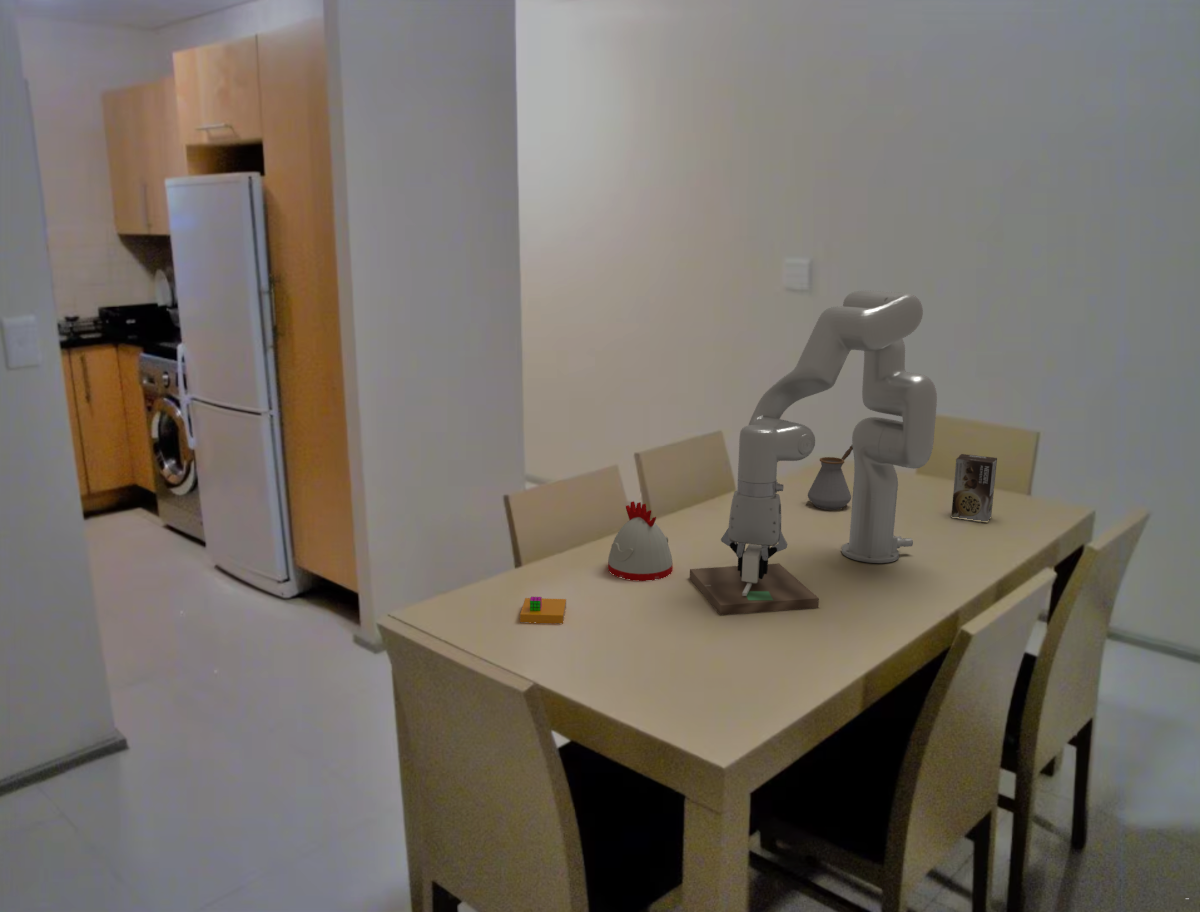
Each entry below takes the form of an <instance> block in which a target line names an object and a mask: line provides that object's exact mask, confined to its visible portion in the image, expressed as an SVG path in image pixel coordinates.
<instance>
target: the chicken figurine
mask: <svg viewBox="0 0 1200 912" xmlns="http://www.w3.org/2000/svg"><path fill="white" fill-rule="evenodd" d="M625 509H626V513H627V516H628V519H629V520H628V521H627V522H626V523H624V524H623V525H622V527H621V528H620V529H619V531H618V532H617V534H616V536H615V537H614V540H613V542H612V544H611V548H610V550H609V554H608V560H607V561H608V562H607V570H608V569H609V570H608V572H609V571H610V572H611V573H612V574H614V575H616V576H618V577H622V578H625V579H624V580H626V579H630V580H629V581H633V580H639V581H638V582H647V581H646V580H652V581H656V580H655V579H658V580H661V578H662V579H664V577H665V578H667V577H669V576H670V575H672V573H673V557H672V552H671V549H670V546H669V545H670V544H669V537H668V536H666V535H665V533H664V532H663V530H662V529H661V527H660V526H659V525H658V524H657V523H656V519H657V516H655V517H654V516H653V517H652V518H651V516H652V510H651V509H650V510H647V504H646V503H642V502H637V504H636V503H635V501H634V500H633V501H630V504H628V505H625ZM610 572H609V573H610ZM671 572H672V573H671ZM611 573H610V574H611ZM612 574H611V575H612ZM669 574H670V575H669ZM614 575H613V576H614ZM668 575H669V576H668ZM616 576H615V577H616ZM666 576H667V577H666ZM618 577H617V578H618ZM622 578H621V579H622Z"/></svg>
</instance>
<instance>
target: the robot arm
mask: <svg viewBox="0 0 1200 912" xmlns="http://www.w3.org/2000/svg"><path fill="white" fill-rule="evenodd" d="M923 310H924V309H923V304H922V302H921V301H920V299H919V298H918V297H917V296H915V295H914V294H912V293H907V292H896V291H894V292H893V291H884V290H883V291H881V290H856V291H853V292H851V293H848V294H847V296H845V297H844V300H843V303H842V306H838V305H837V306H833V307H832V306H830V307H828V308H826V309H825V310H823V312H821V314H820V315H819V317H818V319H817V321H816V322H815V325H814V327H813V329H812V331H811V333H810V335H809V337H808V340H807V343H806V344H805V346H804V348H803V350H802V352H801V355H800V357H799V359H798V361H797V364H796V366H795V367H794V369H793V370H791V371H790V372H789V373H787V374H786V375H784V376H783V377H781V378H780V379H779V380H778V381H777V382H775V384H773V385H772V386H771V387H770V388H769V389H768V390H766V391H765V393H764V394H763V395H762V396H761V398H760V399H759V401H758V403H757V404H756V406H755V408H754V410H753V413H752V415H751V417H750V420H749V422H748V425H745V426H744V427H742V429H740V433H739V441H738V443H739V445H738V466H737V467H738V468H737V485H736V486H737V488H736V490H735V491H734V492H733V495H732V500H731V505H730V512H729V519H728V520H729V521H728V527H727V529H726V531H725V532H724V533H723V535H722V537H721V538H720V542H722V543H723V544H725V546H728V547H729V548H730V549H731V550H732V551H733V552H734V554H735V555H736V557H737V566H738V571H740V577H742V563H743V554H744V552H745V550H746V546H747V545H749V544H753V545H761V546H762V556H761V559H760V561H759V578H760V579H763V576H764V574H767V571H768V564H769V559H770V558H772V556H774V555H775V554H776V553H779V552H781V551H784V550H786V549H787V548H788V543H787V541H786V538H785V536H784V535H783V533H782V504H781V497H780V494H779V493H778V492H783V491H784V484H783V483H782V484H780V483H779V482H778V479H777V477H778V476H777V474H778V462H785V461H786V462H797V461H802V460H804V459H806V458H808V457H809V456H810V455H811V453H813V451H814V448H815V446H816V436H815V434H814V432H813V431H812V429H811V428H809V426H806V425H805V424H802V423H799V422H795V421H789V420H786V419H781V417H782V416H783V414H784V413H785V411H787V409H788V408H790V406H792V405H793V404H794V403H797V402H799V401H800V400H803V399H805V398H808V397H811V396H814V395H817V394H819V393H822V392H825V391H828V390H830V389H831V388H832V387H834V386H835V384H836V382H837V380H838V377H839V376H840V372H841V371H842V368H843V366H844V365H845V362H846V360H847V357H848V356H849V354H850V352H851V351H852V350H853V351H861V352H863V371H862V373H863V374H862V386H861V387H862V390H861V395H862V403H863V405H864V406H865V408H866V409H868V410H870V411H872V412H877V413H879V414H885V415H892V416H898V417H902V421H901V420H895V419H891V418H885V417H876V416H872V417H871V416H869V417H866V418H864V419H861V420H860V421H858V423H857V424H856V425H855V427H854V428H853V431H852V437H851V443H852V444H851V446H853V450H852V452H853V463H854V469H853V471H854V472H853V473H854V474H853V486H852V497H851V511H850V512H851V514H850V524H849V525H850V526H849V527H850V528H849V541H848V542H846V543H845V544H842V546H841V553H842V555H844V556H845V557H847V558H848V559H851V560H853V561H858V562H861V563H868V564H869V563H870V564H887V563H892V562H895V561H897V560H898V559H899V558H900V551H899V550H898V549H900V548H901V547H907V548H908V547H913V545H914V541H913V538H912V537H908V538H907V537H905V538H902V536H900V535H899V536H898V535H894V534H895V523H896V519H895V518H896V509H897V499H898V498H897V497H898V489H899V481H898V480H899V479H898V474H897V472H896V468H895V466H898V467H902V468H907V469H913V470H914V469H920V468H922V467H924V466H925V465H926V464H927V463H928V462H929V460H930V458H931V455H932V453H933V449H934V448H933V447H934V439H935V431H936V430H935V429H936V419H937V418H936V415H937V406H938V404H937V403H938V394H937V388H936V386H935V383H934V382H933V381H932V379H931V378H930V377H928V376H926V375H924V374H921V373H915V372H908V371H907V370H906V364H905V362H906V346H905V342H904V338H906V337H908V336H909V335H911V334H913V333H914V332H915V331H916V329H917V328H918V327H919V326H920V324H921V322H922V319H923V315H924V311H923ZM746 544H747V545H746Z"/></svg>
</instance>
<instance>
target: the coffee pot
mask: <svg viewBox="0 0 1200 912" xmlns="http://www.w3.org/2000/svg"><path fill="white" fill-rule="evenodd" d="M852 452H853V446H852V445H850V446H849V448H848V449H847V450H845V452H844V454H843V455H842V457H841V458H840V457H833V456H826V457H825V456H824V457H820V458H819V462H820V464H821V467H820V469H819V471H818V473H817V474H816V477H815V479H814V480H813V482H812V484H811V486H810V488H809V490H808V491H807V498H808V500H809V501H810V502H811V503H812V504H813V506H815V507H816V508H819V509H822V510H830V511H836V510H842V509H843V508H844V507H845V506H847V505H848V504H849V503H850V501H852V494H851V492H850V489H849V486H848V484H847V481H846V478H845V475H844V471H843V469H842V466H843V465H844V464H845V460H846V459H847V458H848V457H849V456H850V455H851V453H852ZM841 508H842V509H841Z"/></svg>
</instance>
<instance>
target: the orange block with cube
mask: <svg viewBox="0 0 1200 912" xmlns="http://www.w3.org/2000/svg"><path fill="white" fill-rule="evenodd" d="M566 609H567V599H566V598H543V597H542V596H531V597H525V598H524V600H523V604H522V608H521V611H520V613H519V620H520V621H519V623H520V622H531V623H530V624H540V623H562V624H561V625H564V622H565V617H564V616H566V611H565V610H566ZM563 621H564V622H563ZM534 622H536V623H534Z"/></svg>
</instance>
